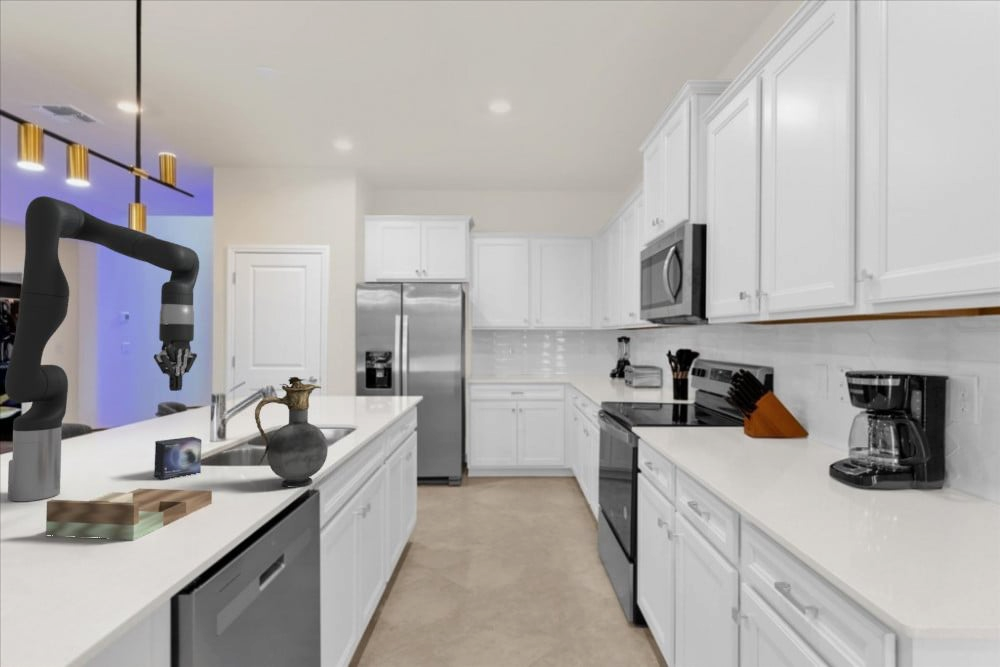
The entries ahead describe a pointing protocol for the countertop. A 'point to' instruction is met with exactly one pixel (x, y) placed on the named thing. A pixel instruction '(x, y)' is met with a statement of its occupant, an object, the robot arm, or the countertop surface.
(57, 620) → the countertop surface
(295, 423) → the pitcher
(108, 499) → the block
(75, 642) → the countertop surface
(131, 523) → the wooden compartment tray
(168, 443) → the small box
